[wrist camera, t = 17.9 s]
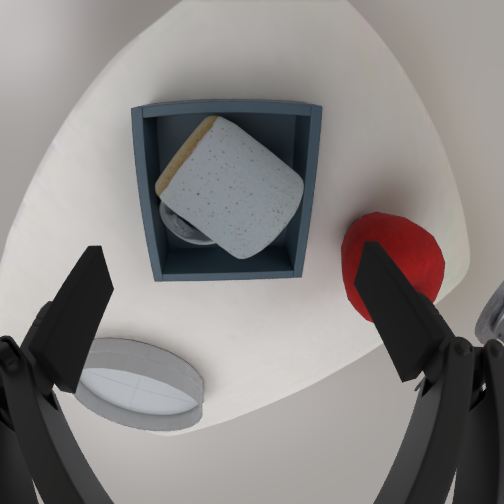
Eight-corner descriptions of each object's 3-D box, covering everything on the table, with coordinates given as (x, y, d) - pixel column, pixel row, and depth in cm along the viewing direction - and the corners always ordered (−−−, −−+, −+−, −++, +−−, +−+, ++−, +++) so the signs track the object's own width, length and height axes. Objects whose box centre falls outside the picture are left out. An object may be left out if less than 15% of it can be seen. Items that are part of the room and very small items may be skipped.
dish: (226, 366, 38) (228, 395, 34) (181, 417, 48) (181, 439, 44) (76, 316, 31) (63, 345, 27) (75, 385, 41) (69, 406, 37)
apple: (417, 220, 28) (476, 278, 18) (369, 282, 32) (408, 351, 23) (358, 176, 24) (425, 233, 15) (305, 254, 29) (338, 334, 20)
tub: (304, 102, 20) (323, 106, 16) (290, 248, 28) (301, 277, 24) (149, 103, 19) (130, 108, 15) (163, 251, 27) (154, 281, 23)
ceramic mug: (214, 103, 19) (206, 112, 13) (293, 165, 22) (320, 201, 16) (142, 204, 23) (114, 252, 17) (216, 250, 27) (214, 308, 20)
